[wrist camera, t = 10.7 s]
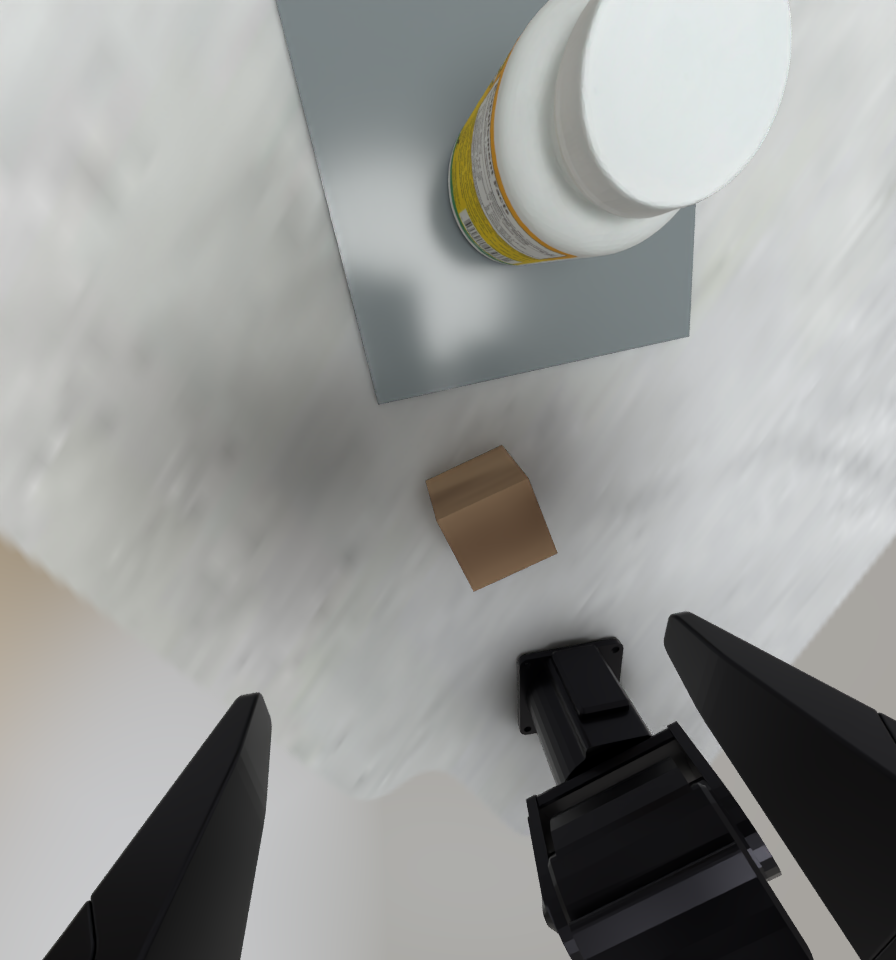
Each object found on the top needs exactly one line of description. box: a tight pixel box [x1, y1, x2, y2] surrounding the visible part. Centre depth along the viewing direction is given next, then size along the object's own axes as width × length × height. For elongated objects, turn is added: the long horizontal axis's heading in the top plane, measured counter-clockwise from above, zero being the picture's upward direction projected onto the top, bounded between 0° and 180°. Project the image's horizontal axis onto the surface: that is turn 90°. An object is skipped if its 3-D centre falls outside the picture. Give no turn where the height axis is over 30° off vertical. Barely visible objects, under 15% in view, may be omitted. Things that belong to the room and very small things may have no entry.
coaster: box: [276, 0, 696, 405], centre depth 17 cm, size 14×14×1 cm
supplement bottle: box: [448, 0, 792, 266], centre depth 12 cm, size 5×5×10 cm
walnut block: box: [426, 445, 557, 591], centre depth 20 cm, size 4×4×4 cm
